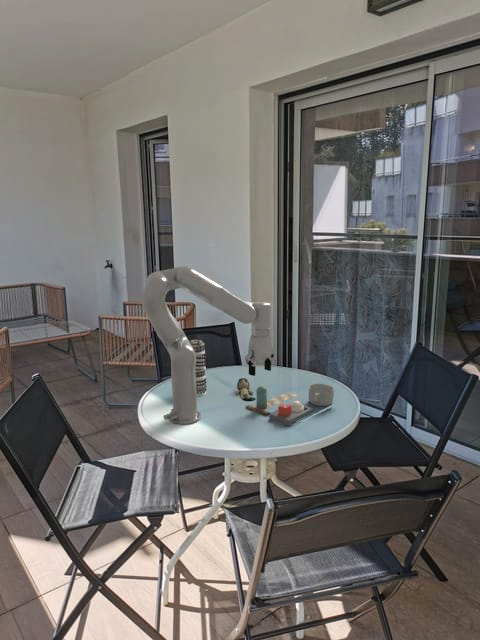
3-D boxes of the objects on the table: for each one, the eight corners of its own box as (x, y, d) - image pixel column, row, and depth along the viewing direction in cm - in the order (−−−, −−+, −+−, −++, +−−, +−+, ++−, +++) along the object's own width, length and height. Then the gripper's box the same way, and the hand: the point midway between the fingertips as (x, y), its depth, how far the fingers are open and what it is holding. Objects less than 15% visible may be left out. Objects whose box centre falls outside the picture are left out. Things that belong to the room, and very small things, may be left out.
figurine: (236, 393, 209) (234, 376, 223) (236, 406, 212) (234, 388, 225) (254, 393, 210) (251, 375, 223) (254, 405, 212) (251, 387, 226)
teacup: (315, 398, 213) (315, 381, 211) (338, 403, 206) (338, 385, 205) (300, 408, 201) (300, 390, 200) (323, 414, 195) (324, 395, 194)
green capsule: (261, 409, 198) (261, 389, 196) (254, 406, 201) (254, 386, 199) (269, 407, 201) (269, 386, 199) (262, 404, 204) (261, 383, 202)
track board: (267, 415, 195) (267, 413, 194) (245, 408, 203) (245, 405, 203) (304, 398, 212) (304, 396, 212) (283, 392, 220) (283, 390, 220)
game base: (289, 426, 184) (289, 411, 183) (269, 419, 191) (269, 404, 190) (313, 414, 196) (313, 399, 194) (294, 407, 202) (294, 393, 201)
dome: (297, 417, 191) (297, 405, 190) (286, 413, 195) (286, 401, 194) (306, 413, 195) (306, 400, 194) (295, 409, 200) (295, 397, 198)
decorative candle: (203, 397, 216) (201, 344, 210) (184, 395, 219) (182, 342, 213) (210, 390, 224) (209, 339, 219) (192, 388, 227) (190, 337, 222)
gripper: (267, 327, 203) (266, 366, 206) (239, 333, 191) (238, 374, 194) (281, 330, 198) (280, 370, 201) (253, 337, 186) (252, 379, 189)
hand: (259, 372), depth 198 cm, fingers open, 9 cm apart
